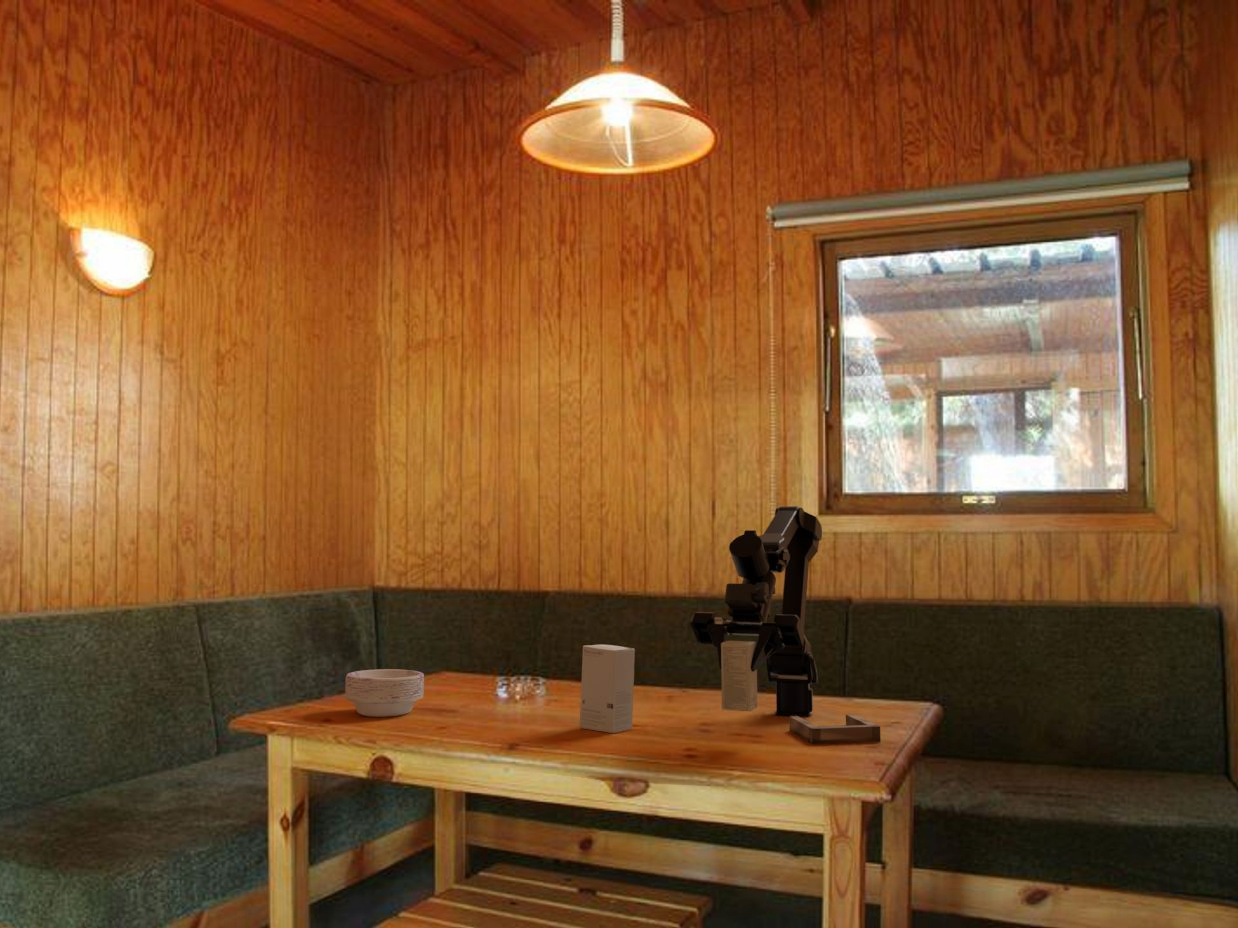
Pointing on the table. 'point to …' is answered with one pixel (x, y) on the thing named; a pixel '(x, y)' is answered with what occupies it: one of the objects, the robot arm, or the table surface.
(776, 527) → the robot arm
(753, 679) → the box
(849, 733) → the walnut u rest
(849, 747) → the table surface
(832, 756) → the table surface
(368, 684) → the paper bowls
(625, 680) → the skincare box
